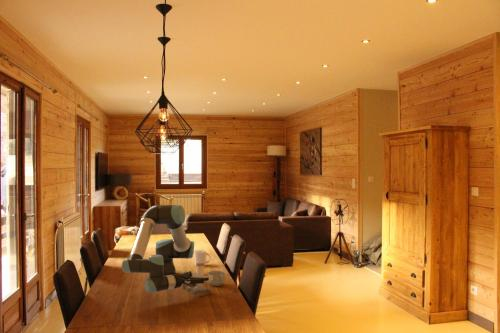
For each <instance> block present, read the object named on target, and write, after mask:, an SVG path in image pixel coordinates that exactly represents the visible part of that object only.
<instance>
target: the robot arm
mask: <svg viewBox="0 0 500 333" xmlns="http://www.w3.org/2000/svg"><path fill="white" fill-rule="evenodd" d="M185 222H186V211H185V209H184V207H183V205H181V204H162V205H161V204H156V205H153V206H151V207H150V208H148V209H147V210H146V211H144V213H143V214H142V216H141V218H140V220H139V228H138V231H137V234H136V238H135V240H134V242H133V245H132V248H131V251H130V253H129V258H124V259H123V260H122V262H121V270H122V272H124V273H127V274H149V275H148V276H149V277H148V278H146V279H145V281H144V289H145V291H146V292H147V293H149V294H152V293H157V292H162V291H163V292H164V291H170V290H173V289H178V288H182V284H183V283H184V284H186V285H189V284H200V283H202V284H204V285H205V283H206V282H208V281H211V280H213V275H210V276H208V275H204V277H202V278H197V271H194V272H192V270H191V271H190V270H189V271H187V272H183V273H181V274H180V273H177V272H176V267H175V264H174V259H187V260H189V259H193V258H194V251H195V241H194V240H193V241H192V240H190V239H189V237H187V233H186V231H185V228H184V223H185ZM156 225H164V226H165V227H166V228H167V229H168V230H169V231H170V234H171V237H172V238H165V239H161V240H158V241H156V243H155V249H154V250H155V254H151V255H150V256H149V258H144V257H145V254H146V252H147V247H148V245H149V242H150V238H151V235H152V232H153V230H154V228H156V227H157V226H156Z"/></svg>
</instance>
